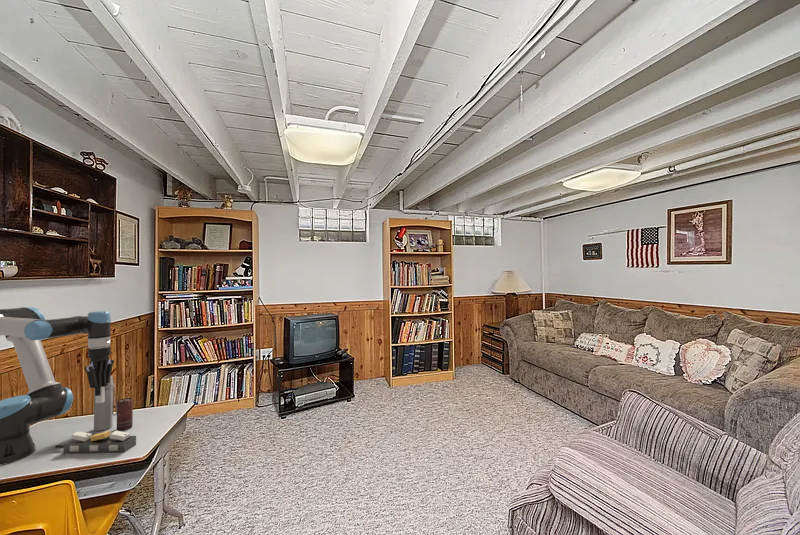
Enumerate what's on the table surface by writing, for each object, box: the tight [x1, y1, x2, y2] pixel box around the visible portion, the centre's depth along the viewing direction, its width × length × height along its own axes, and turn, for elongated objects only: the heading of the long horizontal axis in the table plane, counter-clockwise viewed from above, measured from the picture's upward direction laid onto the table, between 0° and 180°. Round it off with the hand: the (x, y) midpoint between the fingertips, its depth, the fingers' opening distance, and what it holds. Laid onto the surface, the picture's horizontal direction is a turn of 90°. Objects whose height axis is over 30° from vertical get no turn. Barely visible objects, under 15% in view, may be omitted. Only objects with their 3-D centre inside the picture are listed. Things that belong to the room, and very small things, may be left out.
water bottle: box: [93, 375, 117, 432], centre depth 175 cm, size 9×8×25 cm
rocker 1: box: [70, 431, 93, 441], centre depth 153 cm, size 6×3×2 cm, turn 92°
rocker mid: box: [90, 430, 112, 441], centre depth 153 cm, size 6×3×2 cm, turn 92°
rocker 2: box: [110, 430, 131, 441], centre depth 154 cm, size 6×3×2 cm, turn 92°
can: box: [116, 397, 134, 432], centre depth 174 cm, size 6×6×14 cm
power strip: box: [54, 435, 137, 455], centre depth 153 cm, size 31×7×4 cm, turn 92°
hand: (100, 402), depth 153 cm, fingers closed
